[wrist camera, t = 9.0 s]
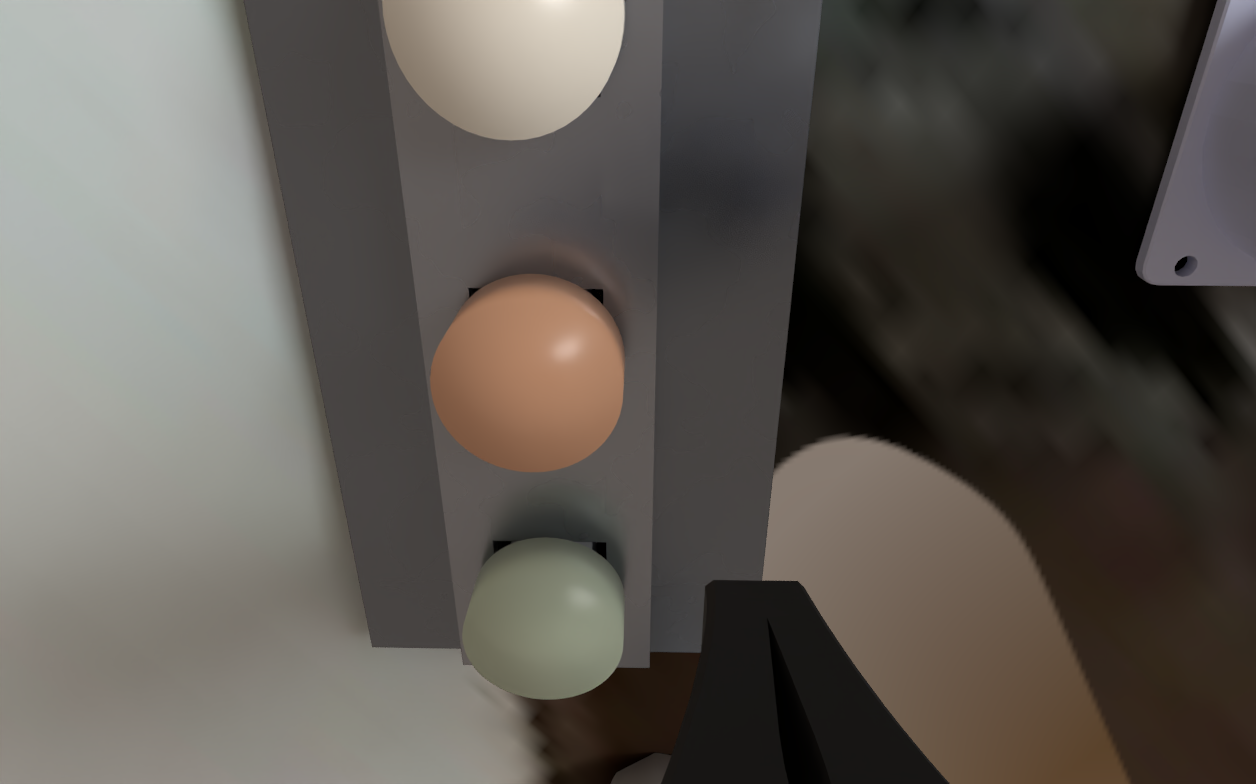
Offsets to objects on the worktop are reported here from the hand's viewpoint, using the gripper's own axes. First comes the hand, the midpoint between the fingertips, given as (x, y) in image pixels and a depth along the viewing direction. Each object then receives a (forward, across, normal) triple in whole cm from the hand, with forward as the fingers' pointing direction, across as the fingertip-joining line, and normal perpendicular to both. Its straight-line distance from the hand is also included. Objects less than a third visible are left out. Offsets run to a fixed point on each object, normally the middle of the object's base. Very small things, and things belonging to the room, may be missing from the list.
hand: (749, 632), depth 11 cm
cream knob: (+10, +4, -8) cm, 13 cm away
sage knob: (+10, +4, +6) cm, 12 cm away
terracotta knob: (+10, +4, -1) cm, 11 cm away
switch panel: (+10, +4, -1) cm, 11 cm away
